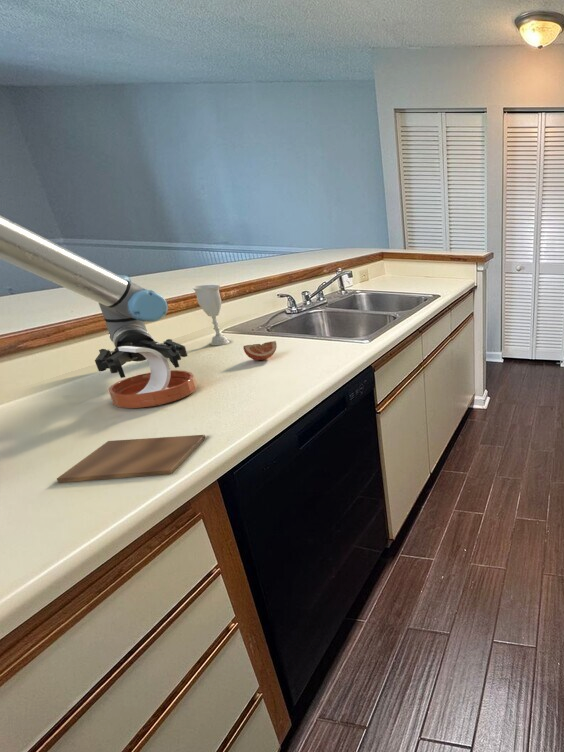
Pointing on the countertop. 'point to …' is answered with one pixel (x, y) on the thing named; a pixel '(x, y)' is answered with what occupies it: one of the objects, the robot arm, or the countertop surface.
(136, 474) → the wooden board
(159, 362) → the headphone stand
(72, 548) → the countertop surface
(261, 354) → the fruit slice
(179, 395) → the bowl
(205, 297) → the chalice
